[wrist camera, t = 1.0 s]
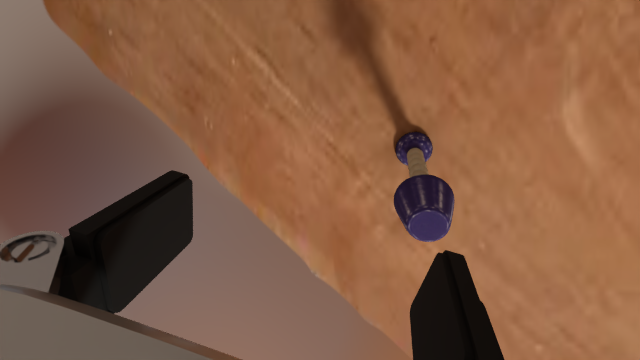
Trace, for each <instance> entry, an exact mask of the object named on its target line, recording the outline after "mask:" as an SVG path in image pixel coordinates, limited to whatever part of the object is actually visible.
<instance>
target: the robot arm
mask: <svg viewBox="0 0 640 360" xmlns="http://www.w3.org/2000/svg"><path fill="white" fill-rule="evenodd" d="M192 199H193V198H192V181H191V180H190V179H189V176H188V175H187V174H183V173H180V172H177V171H169V172H167V173H166V174H164V175H162V176H160V177H159V178H157V179H155V180H153V181H152V182H150V183H148V184H146V185H145V186H143V187H141V188H139V189H138V190H136V191H134V192H132V193H131V194H129V195H127V196H125V197H124V198H122V199H120V200H119V201H117V202H115V203H113V204H112V205H110V206H108V207H106V208H104V209H103V210H101V211H99V212H97V213H96V214H94V215H92V216H91V217H89V218H87V219H85V220H84V221H82V222H80V223H78V224H77V225H75V226H73V227H71V228H70V229H69V233H70V235H69V236H67V237H66V238H63V237H62V235H61V234H58V233H56V232H51V231H36V232H30V233H25V234H22V235H19V236H16V237H13V238H11V239H9V240H7V241H5V242H3V243H2V244H0V360H242V359H239V358H236V357H234V356H231V355H228V354H225V353H222V352H219V351H217V350H214V349H211V348H208V347H206V346H203V345H200V344H197V343H194V342H192V341H189V340H186V339H183V338H180V337H178V336H175V335H172V334H169V333H166V332H163V331H161V330H158V329H155V328H152V327H149V326H146V325H144V324H141V323H138V322H135V321H132V320H129V319H127V318H123V317H121V316H118V315H115V314H114V313H118V312H120V311H121V310H122V309H124V308H125V307H126V306H127V305H128V304H129V303H130V302H131V301H132V300H133V299H134V298H135V297H136V296H137V295H138V294H139V293H140V292H141V291H142V290H143V289H144V288H145V287H146V286H147V285H148V284H149V283H150V282H151V281H152V280H153V279H154V278H155V277H156V276H157V275H158V274H159V273H160V272H161V271H162V270H163V269H164V268H165V267H166V266H167V265H168V264H169V263H170V262H171V261H172V260H173V259H174V258H175V257H176V256H177V255H178V254H179V253H180V252H181V251H182V250H183V249H184V248H185V247H186V246H187V245H188V244H189V243H190V242H191V240H192V237H193V204H192V203H193V200H192ZM410 323H411V336H412V349H413V360H504V357H503V355H502V352H501V349H500V346H499V344H498V341H497V338H496V336H495V333H494V330H493V327H492V325H491V322H490V319H489V316H488V314H487V311H486V308H485V306H484V304H483V303H482V302H481V301H480V299H479V297H478V294H477V291H476V288H475V285H474V283H473V280H472V277H471V274H470V271H469V269H468V266H467V263H466V260H465V258H464V256H463V255H461V254H457V253H454V252H451V251H447V250H445V251H444V252H443V253H438V254H437V255H436V257H435V259H434V261H433V263H432V265H431V267H430V269H429V271H428V273H427V275H426V277H425V279H424V281H423V283H422V285H421V287H420V289H419V291H418V293H417V295H416V297H415V299H414V301H413V303H412V305H411V309H410Z"/></svg>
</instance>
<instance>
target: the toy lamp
mask: <svg viewBox="0 0 640 360" xmlns="http://www.w3.org/2000/svg"><path fill="white" fill-rule="evenodd" d="M431 154H432V143H431V141H430V139H429V138H428V137H427V136H426V135H424V134H422V133H419V132H412V133H408V134H405V135H404V136H402V137H401V138H400V139H399V141H398V142H397V145H396V155H397V157H398V159H399V160H400V161H401V162H402V163H403V164H405V165H408V169H409V176H410V178H408V179H406V180H405V181H404V182H402V183H401V184H400V185H399V187H398V188H397V190H396V192H395V195H394V206H395V209H396V212H397V214H398V216H399V217H400V219H401V221H402V223H403V224H404V226H405V228H406V230H407V231H408V232H409V234H410V235H411V236H413V237H414V238H415V239H418V240H421V241H424V242H432V241H436V240H439V239H441V238H442V237H444V236H445V235H446V234H447V232H448V230H449V229H450V226H451V221H452V215H453V209H454V194H453V191H452V189H451V188H450V186H449V185H448V184H447V183H446V182H445V181H444V180H442V179H441V178H438V177H436V176H433V175H428V170H427V168H426V163H425V162H426V161H427V160H428V159H429V158H430V156H431Z"/></svg>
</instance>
